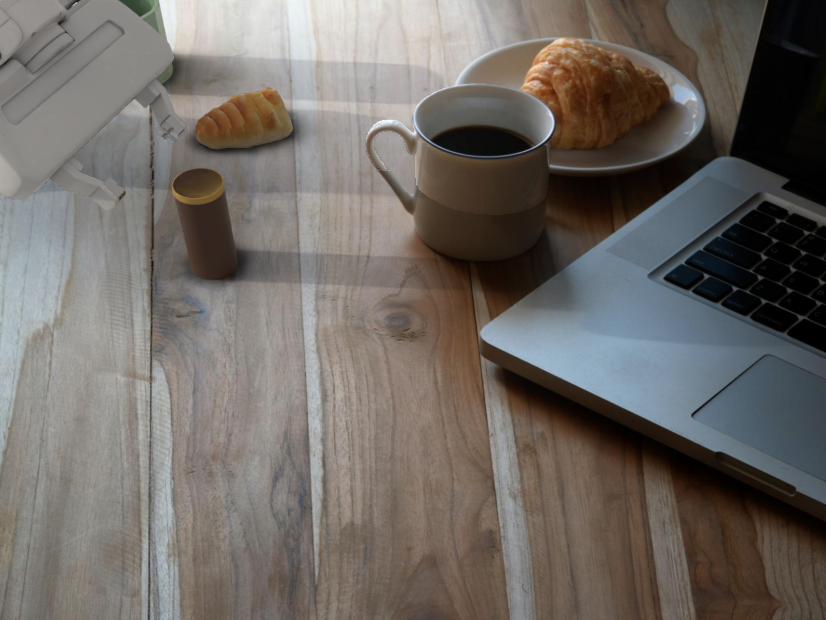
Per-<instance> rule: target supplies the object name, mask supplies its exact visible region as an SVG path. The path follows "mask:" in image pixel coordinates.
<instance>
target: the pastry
mask: <svg viewBox="0 0 826 620" xmlns="http://www.w3.org/2000/svg"><path fill="white" fill-rule="evenodd" d="M194 129H195V130H194V133H195V139H196V141H197V142H198V143H199V144H201V145H203V146H205V147H208V148H209V149H213V150H224V149H250V148H252V147H254V146H260V145H265V144H270V143H274V142H276V141H280V140H283V139H285V138H288V137H289V136H290V135H291V134H292V132H293V130H294V127H293V123H292V119H291V117H290V114H289V112H288V110H287V108H286V106H285V102H284V100H283V98H282V97H281V95H280V93H279V92H278V91H277V89H273V88H271V87H267V86H266V87H265V88H263V89H262V90H261V91H253V92H245V93H243V94H235V95H232V96H231V97H230V98H229V100H227V101H225V102H224V103H221V105H220V106H217V107H214V108H212V109H210V110H209V111H208V112H206V113H205V114H204V115H202V116H201V117H200V118H198V119H197V122H196V124H195V128H194Z"/></svg>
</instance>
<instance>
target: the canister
mask: <svg viewBox="0 0 826 620" xmlns="http://www.w3.org/2000/svg"><path fill="white" fill-rule="evenodd" d="M118 1H120V2H121V3H123V4H124V5H126V6H127V7H128V8H130V9H131V10H132V11H133V12H134V13H136V14H137V15H138V16H139V17H141V18H142V19H143V20H144V21H145V22H147V23H148V24H149V25H150V26H151V27H152V28H153V29H154V30H156V31H157V32H158V33H159V34H160V35H161V36H162V37H163V38H164V39H165V40H166V41H167V42H168V38H167V37H168V36H167V33H166V28H165V27H166V26H165V22H164V18H163V13H162V8H161V4H160V0H118ZM168 43H169V42H168ZM173 72H174V67H173V61H172V62H171V64H170V65H169V66H168V67H167V68H166V69H165V70H164V71H163V72H162V73H161V74H160V75H159V76H158V77H157V78H156V79H157V80H158V81H159V82H160V83H161V84H162V85H163V84H165V83H166V82H167V81H168V80H169V79H170V78H171V76H172V75H173Z"/></svg>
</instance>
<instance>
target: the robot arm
mask: <svg viewBox="0 0 826 620" xmlns="http://www.w3.org/2000/svg"><path fill="white" fill-rule="evenodd" d="M167 41H168V40H167ZM167 41H166V40H165V39H164V38H163V37H162V36H161V35H160V34H159V33H158V32H157V31H156V30H154V29H153V28H152V27H151V26H150V25H149V24H148V23H147V22H145V21H144V20H143V19H142V18H141V17H139V16H138V15H137V14H136V13H134V12H133V11H132V10H131V9H130V8H128V7H127V6H126V5H124V4H123V3H121V2H120V1H118V0H0V195H2V196H3V197H5V198H7V199H11V200H15V201H20V202H25V201H27V200H28V199H30V197H32V196H33V195H34V194H35V193H36V192H37V191H38V190H39V189H40V188H41V187H42V186H43V185H44V184H45V183H46V182H48V181H49V180H51V181H52V182H53V183H54V184H56V185H57V186H58V187H59V188H60V189H61V190H62V191H63V190H64V191H66V192H70V193H73V194H76V195H79V196H82V197H86V198H89V197H90V199H92V200H93V201H94V202H95V203H96V204H97V205H98V206H99V207H100V208H101V209H103V210H104V211H106V212H110V211H112V210H113V209H114V208H115V206H117V205H118V204H119V203H120V201H121V200H123V199H124V198H125V196H126V194H127V192H126V189H125V188H123V186H121V185H118V182H117V181H116V180H115V179H114V178H113V177H112V176H109V177H107V179H105V181H104V180H101V179H99V178H96V177H93V176H92V175H88V174H86V173H83V172H82V170H83V169H84V165H83V164H82V163H80V161H78V159H76V158H75V157H74V156H75V155H76V154H78V152H79V151H81V149H82V148H84V147H85V146H86V145H87V144H88V143H89V142H90V141H91V140H93V138H94V137H95V136H96V135H97V134H98V133H99V132H101V131H102V130H103V129H104V128H105V127H106V126H107V125H108V124H109V123H110V122H111V121H112V120H113V119H115V117H117V116H118V115H119V114H120V113H121V112H122V111H123V110H124V109H125V108H126V107H127V106H129V105H130V103H132V102H133V100H135V101H136V102H138V103H139V104H140V105H141V106H142V107H143V108H144V109H147V108H148V107H149V108H150V110H151V111H152V114H153V116H154V118H155V120H156V122H157V124H158V126H157V128H156V129H155V130H154V132H155V133H156V134H157V135H158V136H159V137H161V138H163V140H164V141H165V143H166V144H168V145H175V143H176V142H177V141H179V139H180V138H181V137H182V136H183V135H184V134H185V133H186V132H187V131H188V130H189V127H188V125H187V124H186V122H185V121H184V120H182V118H180V116H179V115H178V114H177V113H175V108H174V105H173V103H172V101H171V98H170V96H169V93H168V90H167V88H166V87H165V86H164V85H163V84H161V83H160V82H159V81H158V80H157V79H156V78H157V77H158V76H159V75H160V74H161V73H162V72H163V71H164V70H165V69H166V68H167V67H168V66H169V65H170V64H171V62H172V63H173V62H174V60H175V56H174V52H173V50H172V46H171V45H170V43H169V42H167Z"/></svg>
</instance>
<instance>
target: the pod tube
mask: <svg viewBox="0 0 826 620" xmlns="http://www.w3.org/2000/svg"><path fill="white" fill-rule="evenodd" d="M224 180H225V179H224V177H223V175H222V174H221V173H220V172H219V171H217V170H216V169H213V168H208V167H194V168H189V169H186V170H184V171H182V172H180V173H179V174H177V175H176V176H175V177H174V178H173V180H172V182H171V190H172V195H173V196H174V201H175V205H176V210H177V213H178V217H179V223H180V226H181V227H180V228H181V231H182V235H183V240H184V244H185V247H186V248H185V249H186V253H187V255H188V261H189V265H190V269H191V272H192V273H193V275H195V277H197V278H198V279H199V278H200V279H202V280H207V281H216V280H221V279H224V278H227V277H228V276H231V275H232V274H233V273H234V272H236V270H237V268H238V265H239V260H238V255H237V248H236V244H235V243H236V242H235V238H234V232H233V227H232V220H231V216H230V211H229V205H228V199H227V194H226V190H225V189H226V188H225V187H226V185H225V181H224Z"/></svg>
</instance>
